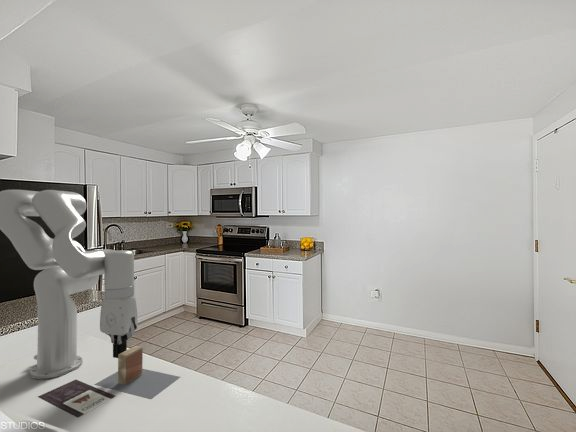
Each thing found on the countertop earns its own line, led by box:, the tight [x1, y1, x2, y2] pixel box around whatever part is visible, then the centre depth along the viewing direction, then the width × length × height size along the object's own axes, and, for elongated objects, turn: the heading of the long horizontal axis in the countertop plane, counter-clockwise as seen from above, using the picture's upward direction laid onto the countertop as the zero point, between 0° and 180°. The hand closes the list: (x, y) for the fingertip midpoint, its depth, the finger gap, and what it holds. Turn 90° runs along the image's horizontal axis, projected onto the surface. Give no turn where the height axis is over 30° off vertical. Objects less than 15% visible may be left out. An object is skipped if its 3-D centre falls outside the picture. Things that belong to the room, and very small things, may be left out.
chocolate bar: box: [37, 379, 116, 418], centre depth 74 cm, size 9×1×18 cm
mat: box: [94, 368, 181, 400], centre depth 82 cm, size 20×11×1 cm, turn 71°
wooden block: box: [117, 345, 144, 385], centre depth 83 cm, size 3×6×8 cm, turn 161°
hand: (119, 355), depth 84 cm, fingers closed
